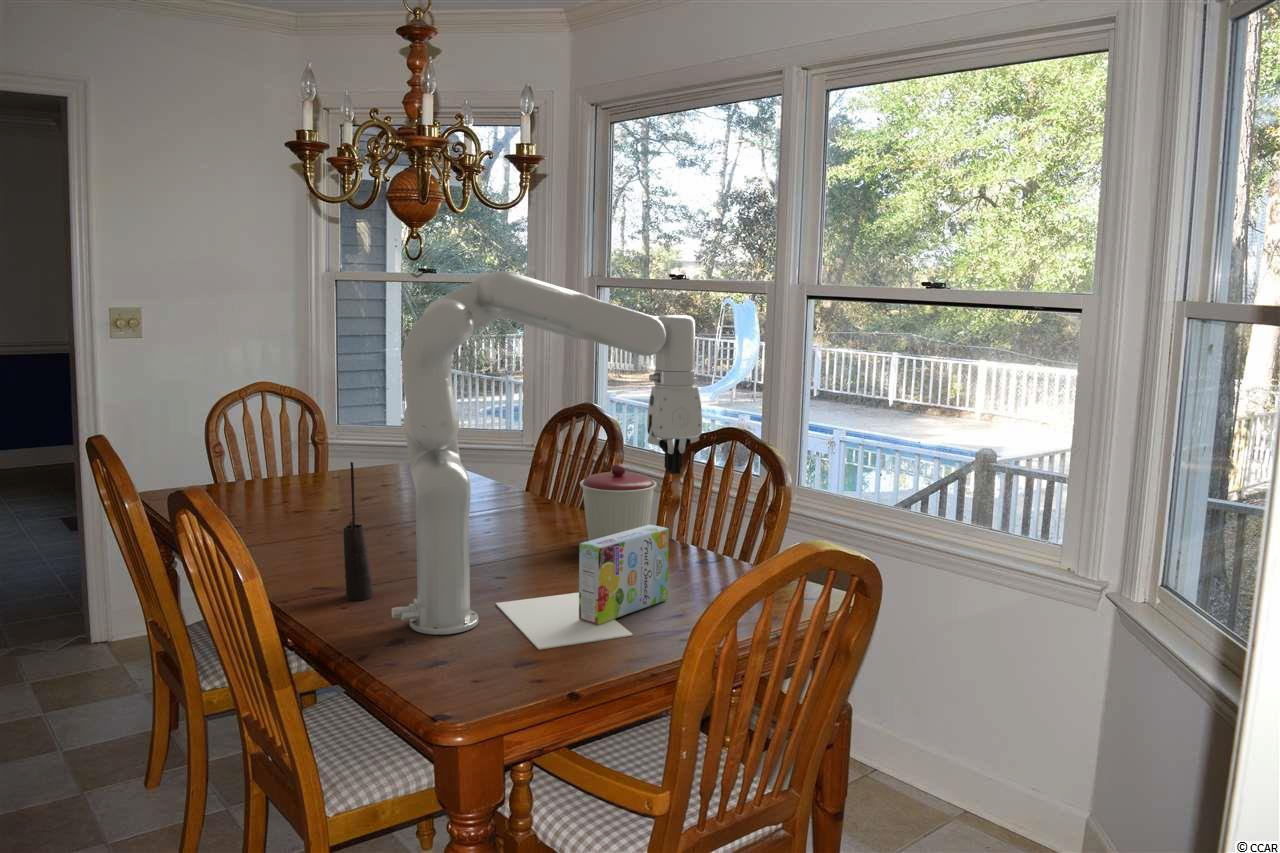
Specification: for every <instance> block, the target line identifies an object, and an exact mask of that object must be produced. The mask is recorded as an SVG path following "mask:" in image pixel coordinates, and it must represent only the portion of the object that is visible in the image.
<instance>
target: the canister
mask: <svg viewBox="0 0 1280 853" xmlns="http://www.w3.org/2000/svg"><path fill="white" fill-rule="evenodd" d="M579 485H580V487H581V488H582V494H583V495H582V496H583V503H584V504H583V505H584V515H585V523H586V524H585V525H586V530H587V539H588V541H591V540H594V539H598V538H602V537H605V536H609V535H613V534H616V533H620V532H624V531H628V530H631V529H635V528H639V527H642V526H646V525H650V522H651V515H652V514H651V513H652V505H653V498H654V490H655V488H656V487H657V482H656V481H655V480H653V479H651V478H650V476H648V475H645V474H642V473H635V472H628V471H627V467H626V466H625V464H623V463H620V462H619V463H614V464H613V465H611V468H610V471H607V472H606V471H605V472H598V473H595V474H594V473H593V474H590V475H588V476H586V478H584V479H582V480H581V481H580V482H579Z"/></svg>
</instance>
